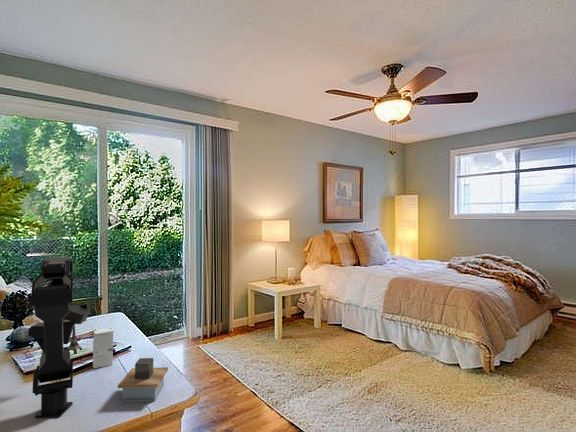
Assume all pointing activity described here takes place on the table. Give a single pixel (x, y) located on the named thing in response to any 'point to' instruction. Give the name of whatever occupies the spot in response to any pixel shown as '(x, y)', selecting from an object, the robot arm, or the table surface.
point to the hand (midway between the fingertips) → (57, 349)
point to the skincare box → (102, 347)
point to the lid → (143, 375)
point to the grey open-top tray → (142, 393)
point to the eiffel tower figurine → (74, 343)
